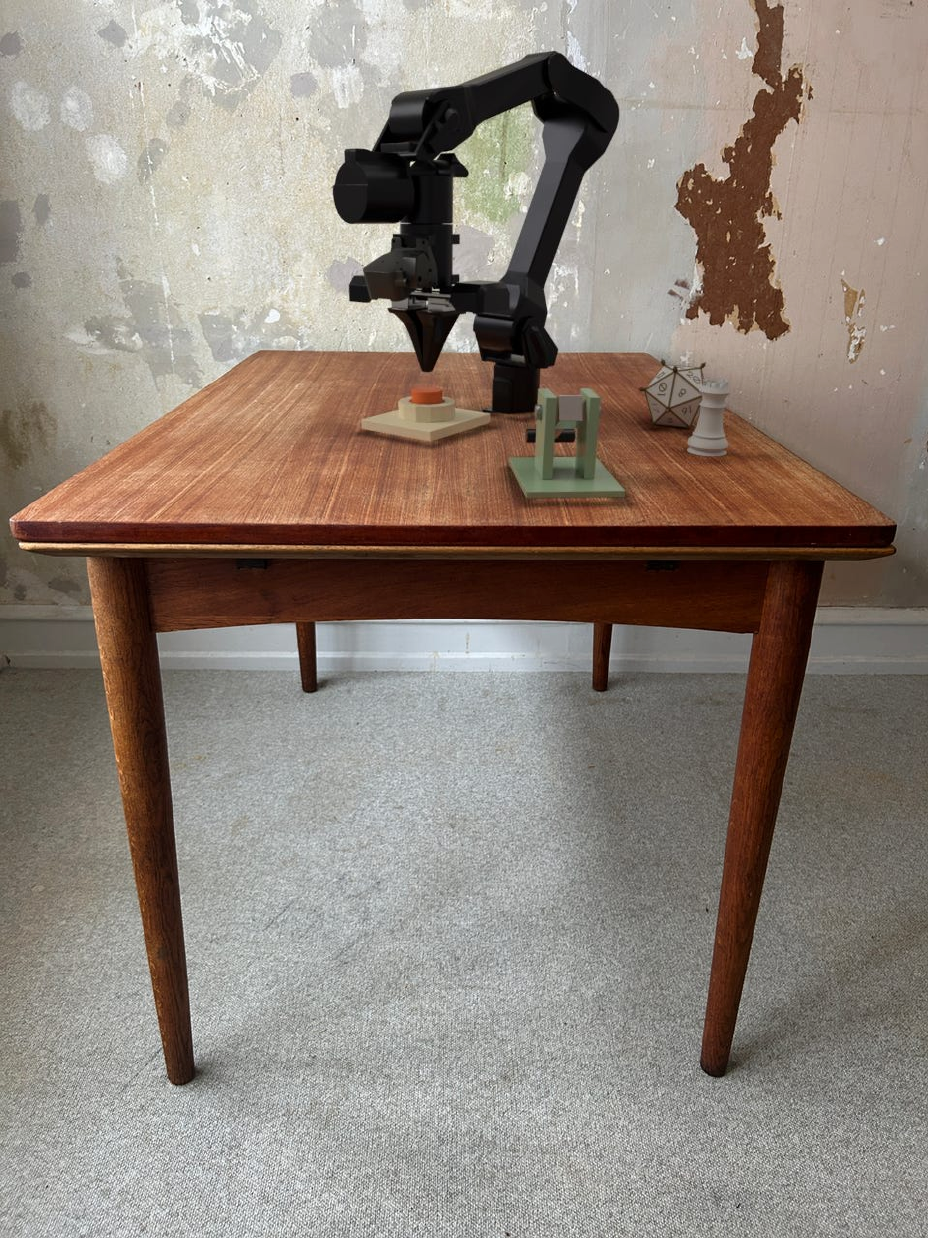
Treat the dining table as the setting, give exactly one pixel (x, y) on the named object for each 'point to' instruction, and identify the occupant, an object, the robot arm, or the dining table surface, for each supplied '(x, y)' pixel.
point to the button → (426, 395)
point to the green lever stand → (565, 473)
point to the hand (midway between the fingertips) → (427, 371)
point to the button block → (426, 420)
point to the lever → (563, 419)
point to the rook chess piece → (710, 420)
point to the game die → (675, 395)
